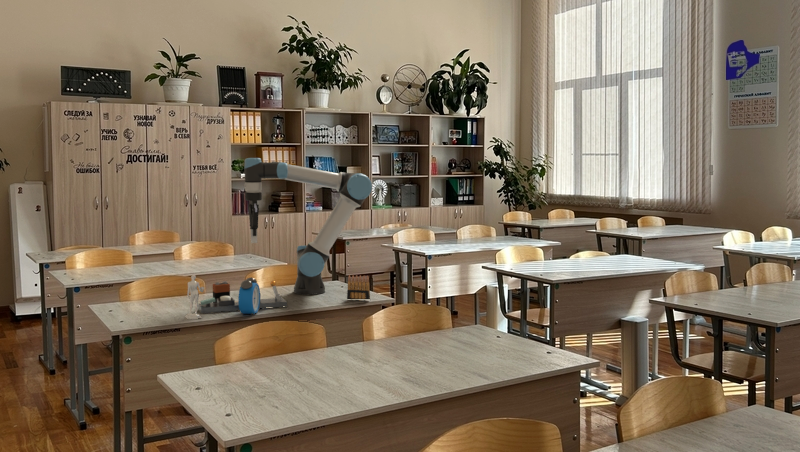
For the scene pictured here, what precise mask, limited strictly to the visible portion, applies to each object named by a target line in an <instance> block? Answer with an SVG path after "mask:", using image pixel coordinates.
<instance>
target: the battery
mask: <svg viewBox="0 0 800 452" xmlns="http://www.w3.org/2000/svg"><path fill="white" fill-rule="evenodd" d="M221 296H231V284H230V283H228V281H227V280H226V281H225V280H223V281H221V282H219V281H216V282H215V283H213V284H212V298H215V301H216V302H217V298H220V297H221ZM216 302H212V303H216Z"/></svg>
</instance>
